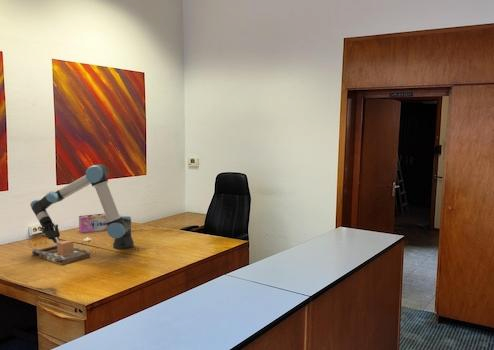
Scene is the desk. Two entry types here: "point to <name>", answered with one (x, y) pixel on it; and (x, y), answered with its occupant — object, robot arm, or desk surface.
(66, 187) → the robot arm
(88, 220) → the gum box
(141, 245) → the desk surface
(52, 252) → the rail track section
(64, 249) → the terracotta block
